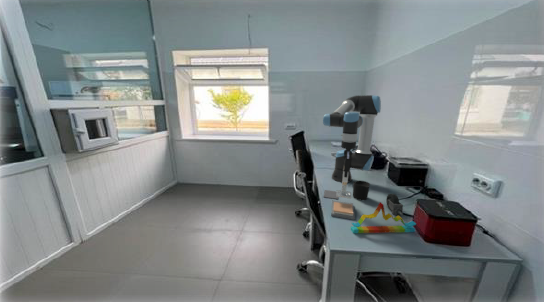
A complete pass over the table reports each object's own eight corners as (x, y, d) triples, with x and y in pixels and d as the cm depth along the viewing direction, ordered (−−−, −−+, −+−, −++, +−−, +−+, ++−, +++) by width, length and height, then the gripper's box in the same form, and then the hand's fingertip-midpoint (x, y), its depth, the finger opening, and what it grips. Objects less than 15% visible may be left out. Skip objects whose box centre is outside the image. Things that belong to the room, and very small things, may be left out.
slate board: (332, 202, 128) (332, 200, 128) (352, 205, 125) (353, 203, 124) (331, 215, 113) (331, 213, 113) (354, 219, 110) (355, 217, 109)
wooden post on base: (336, 190, 127) (338, 163, 122) (350, 192, 124) (353, 164, 120) (336, 196, 119) (338, 167, 115) (351, 198, 117) (354, 168, 113)
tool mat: (324, 190, 145) (324, 189, 145) (338, 192, 142) (338, 191, 142) (323, 197, 135) (323, 196, 135) (338, 199, 132) (338, 198, 132)
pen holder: (369, 201, 130) (371, 186, 127) (353, 200, 132) (355, 185, 129) (365, 195, 139) (367, 181, 136) (351, 193, 141) (352, 179, 138)
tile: (333, 202, 122) (333, 210, 113) (352, 204, 120) (353, 213, 110) (333, 204, 123) (333, 212, 114) (351, 207, 120) (352, 215, 111)
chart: (410, 228, 103) (415, 200, 100) (414, 232, 100) (420, 204, 97) (350, 229, 102) (353, 201, 98) (352, 233, 99) (356, 205, 95)
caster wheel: (383, 206, 126) (396, 218, 111) (384, 191, 124) (398, 201, 109) (392, 207, 125) (407, 218, 110) (394, 191, 124) (409, 201, 109)
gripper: (341, 138, 122) (338, 175, 128) (341, 143, 108) (338, 185, 114) (355, 138, 120) (351, 177, 126) (357, 144, 106) (352, 187, 112)
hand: (344, 181), depth 120 cm, fingers closed on wooden post on base, 2 cm apart
